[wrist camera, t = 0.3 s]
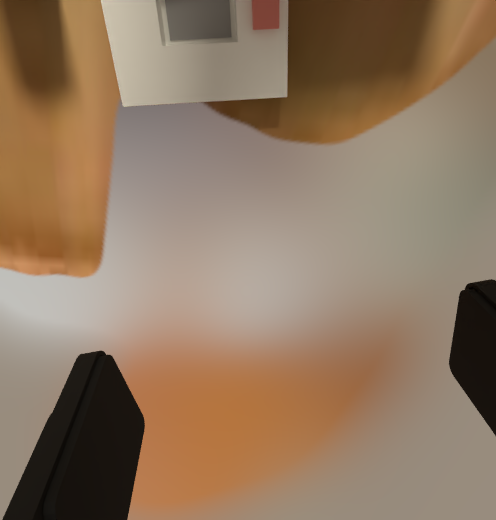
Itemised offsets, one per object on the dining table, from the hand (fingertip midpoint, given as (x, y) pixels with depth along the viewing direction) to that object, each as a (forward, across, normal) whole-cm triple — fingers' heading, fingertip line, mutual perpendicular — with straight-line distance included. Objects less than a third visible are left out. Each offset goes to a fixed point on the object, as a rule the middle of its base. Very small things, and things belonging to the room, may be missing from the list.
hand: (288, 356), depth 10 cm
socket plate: (+30, +1, -10) cm, 32 cm away
